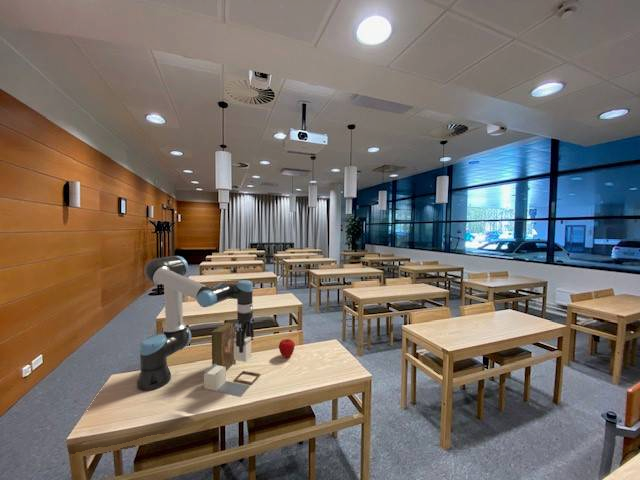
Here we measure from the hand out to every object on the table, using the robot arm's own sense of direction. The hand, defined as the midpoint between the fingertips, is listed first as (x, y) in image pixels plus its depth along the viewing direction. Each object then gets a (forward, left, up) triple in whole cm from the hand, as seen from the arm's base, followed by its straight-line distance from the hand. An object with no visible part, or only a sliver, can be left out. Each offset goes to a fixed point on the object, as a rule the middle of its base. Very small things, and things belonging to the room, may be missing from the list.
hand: (245, 355), depth 137 cm
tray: (-1, +4, -16) cm, 16 cm away
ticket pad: (-13, -6, -14) cm, 21 cm away
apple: (+9, +34, -16) cm, 38 cm away
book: (-19, +10, -16) cm, 27 cm away
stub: (-2, 0, -2) cm, 3 cm away
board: (-7, -6, -16) cm, 18 cm away
